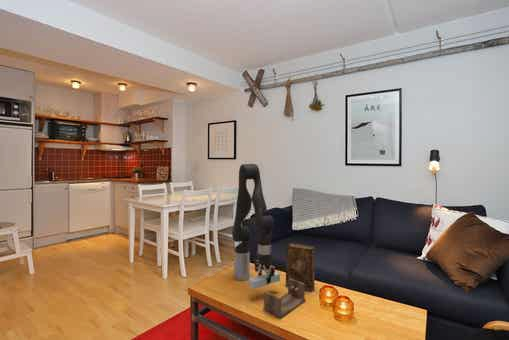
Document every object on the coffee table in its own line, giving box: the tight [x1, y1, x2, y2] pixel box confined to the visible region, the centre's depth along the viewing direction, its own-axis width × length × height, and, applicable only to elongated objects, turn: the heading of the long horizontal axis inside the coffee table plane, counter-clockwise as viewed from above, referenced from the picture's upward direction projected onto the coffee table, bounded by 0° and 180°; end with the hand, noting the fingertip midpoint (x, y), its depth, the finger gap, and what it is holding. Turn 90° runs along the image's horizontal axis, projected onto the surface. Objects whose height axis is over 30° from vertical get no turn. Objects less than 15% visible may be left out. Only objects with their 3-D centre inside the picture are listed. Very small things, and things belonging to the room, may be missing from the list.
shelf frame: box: [263, 278, 306, 320], centre depth 139 cm, size 11×22×10 cm, turn 137°
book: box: [285, 242, 316, 293], centre depth 158 cm, size 16×6×25 cm, turn 62°
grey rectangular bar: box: [248, 270, 281, 290], centre depth 149 cm, size 5×18×4 cm, turn 124°
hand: (264, 281), depth 149 cm, fingers closed on grey rectangular bar, 5 cm apart
